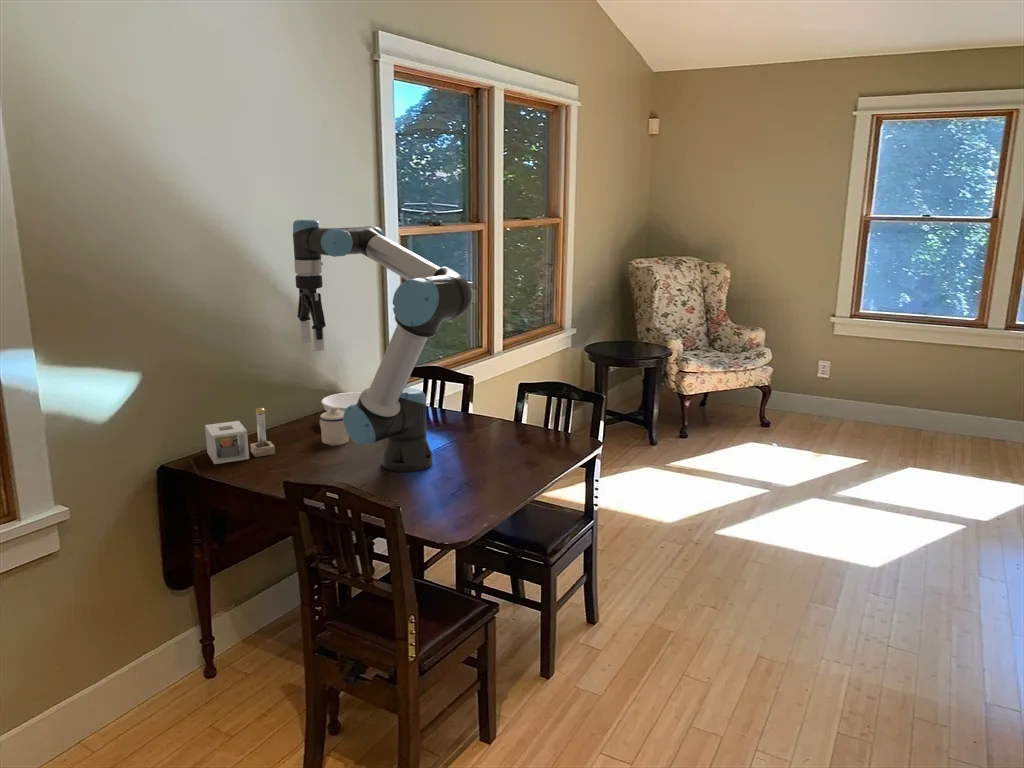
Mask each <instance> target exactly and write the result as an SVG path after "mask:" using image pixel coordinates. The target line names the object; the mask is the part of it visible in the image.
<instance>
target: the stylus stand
mask: <svg viewBox="0 0 1024 768" xmlns="http://www.w3.org/2000/svg"><path fill="white" fill-rule="evenodd" d="M250 452H251V454H252V455H253V456H254V457H255V458H257V457H263V456H271V455H275V454H276V447H275V445H274V444H273V442H271V440H266V447H260V448H258V442H254V443H250Z"/></svg>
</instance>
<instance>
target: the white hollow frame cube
mask: <svg viewBox="0 0 1024 768" xmlns="http://www.w3.org/2000/svg"><path fill="white" fill-rule="evenodd" d="M204 430H205V438H206V439H205V440H206V441H205V442H206V451H207V454H208V456H209V458H210V459H211V461H212V463H213V465H217V464H218V465H219V464H225V463H231V462H239V461H245V460H249V459H250V453H249V452H250V451H249V440H248V437H249V435H248V430H247V428H245V427H244V425H243V423H241V422H240V420H235V421H228V422H227V421H226V422H218V423H213V424H211V423H210V424H205V425H204ZM231 436H236V437H237V441H234V440H232V446H231V447H224V448H222V442H218V443H216V439H217V438H223V437H231Z"/></svg>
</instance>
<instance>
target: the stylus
mask: <svg viewBox="0 0 1024 768" xmlns="http://www.w3.org/2000/svg"><path fill="white" fill-rule="evenodd" d="M265 413H266V412H265V408H264V407H258V408H257V407H256V408H255V415H256V431H257V443H258V448H260V447H266V441H267V435H266V434H267V432H266V417H265V416H266V414H265Z"/></svg>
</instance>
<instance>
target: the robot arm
mask: <svg viewBox="0 0 1024 768" xmlns="http://www.w3.org/2000/svg"><path fill="white" fill-rule="evenodd" d="M292 239H293V241H292V242H293V253H294V255H293V256H294V273H295V274H296V276H295V277H294V278H295V287H296V289H298V303H297V304H298V306H297V307H298V308H297V315H296V316H297V318H298V319H299V327H300V329H299V330H300V343H302V344H306V343H311V342H312V341H311V339H312V338H311V329H312V334H313V335H312V337H313V351H314V352H318V351H325V343H324V341H325V340H324V328H325V327H326V320H325V315H324V310H323V303H322V295H321V293H319V292H318V291H317V289H321V288H323V276H322V274H321V273H322V271H323V269H322V266H323V265H324V262H323V261H322V256H329V257H330V256H331V257H335V258H337V257H344V256H347V255H358V254H360V255H363V256H366V257H367V258H368V259H371V260H373V261H374V262H375V263H378V264H379V265H381V266H383V267H384V268H386V269H387V270H389V271H390V272H392V273H394V274H396V275H398V276H400V277H401V278H403V279H404V280H405V281H404V282H402V283H401V284H400V285H399V286H398V287H397V288H396V290H395V291H394V294H393V297H392V298H393V299H392V305H393V308H392V311H393V314H394V320H395V323H396V327H395V329H394V331H393V334H392V336H391V338H390V341H389V342H388V346H387V348H386V350H385V352H384V355H383V357H382V359H381V361H380V364H379V366H378V368H377V369H376V370H377V371H376V373H375V375H374V377H373V380H372V382H371V383H370V387H367V388H366V389H364V390H362V391H361V392H362V393H361V395H360V397H359V400H358V402H357V404H355V405H350V406H349V407H347V408H346V410H345V411H344V415H343V422H344V426H345V429H346V432H347V434H348V435H349V439H350V440H351V441H353V443H355V444H357V445H359V446H366V445H372V444H374V443H377V442H379V441H383V440H386V443H385V446H384V450H383V453H382V457H381V463H382V464H381V465H382V467H383V468H385V469H386V470H388V471H392V472H399V473H402V472H403V473H407V472H408V473H409V472H418V471H421V470H422V471H423V470H425V469H427V468H430V467H431V466H432V465H433V464H434V461H433V460H434V459H433V458H434V457H433V453H432V450H431V448H430V444H429V442H428V439H427V406H428V405H427V398H426V394H425V393H424V391H423V390H421V389H416V388H412V387H411V388H410V387H406V386H407V382H408V381H409V379H410V376H411V375H412V372H413V370H414V368H415V366H416V364H417V362H418V360H419V357H420V355H421V353H422V351H423V349H424V347H425V344H426V342H427V340H428V339H431V338H433V337H435V336H436V335H437V332H438V331H439V328H440V326H441V324H442V323H443V322H444V321H448V320H452V319H457V318H459V317H461V316H463V315H464V314H465V313H466V312H467V311H468V310H469V308H470V306H471V303H472V302H473V301H472V299H473V293H472V287H471V285H470V283H469V282H468V280H467V279H466V278H465V277H463V276H462V275H461V274H459V273H458V272H456V271H454V270H453V269H451V268H449V267H447V266H442V267H440V266H438V265H436V264H434V263H433V262H430V261H429V260H427V259H425V258H424V257H422V256H420V255H419V254H416V253H414V252H413V251H410V250H409V249H407V248H405V247H403V246H402V245H400V244H398V243H397V242H395V241H393V240H391V239H389V238H387V237H386V235H385V233H384V231H383V229H381V228H380V227H378V226H371V225H370V226H369V225H367V226H357V227H356V226H355V227H331V228H329V227H328V228H327V227H321V224H320V221H319V220H317V219H296V220H294V221H293V223H292ZM317 292H318V293H317ZM311 320H312V324H313V325H312V326H311V324H310V322H311Z"/></svg>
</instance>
